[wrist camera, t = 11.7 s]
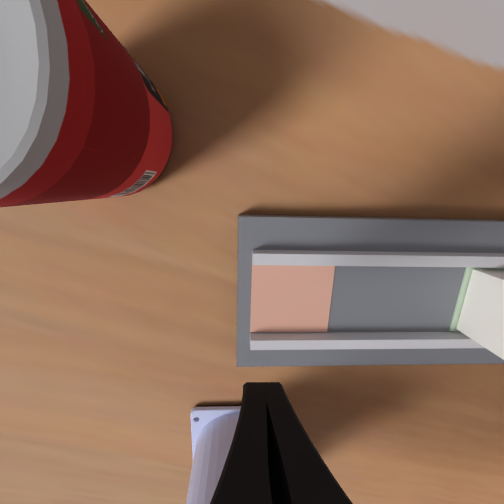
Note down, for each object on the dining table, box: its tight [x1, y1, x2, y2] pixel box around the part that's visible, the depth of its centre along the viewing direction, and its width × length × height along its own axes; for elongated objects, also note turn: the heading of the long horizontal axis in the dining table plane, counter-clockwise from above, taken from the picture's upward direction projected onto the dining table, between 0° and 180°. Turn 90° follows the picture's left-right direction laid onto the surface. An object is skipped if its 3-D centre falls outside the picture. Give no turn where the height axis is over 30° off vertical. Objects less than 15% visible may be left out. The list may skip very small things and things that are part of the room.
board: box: [237, 215, 504, 367], centre depth 18 cm, size 12×26×3 cm, turn 88°
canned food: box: [0, 0, 172, 207], centre depth 10 cm, size 8×8×11 cm
